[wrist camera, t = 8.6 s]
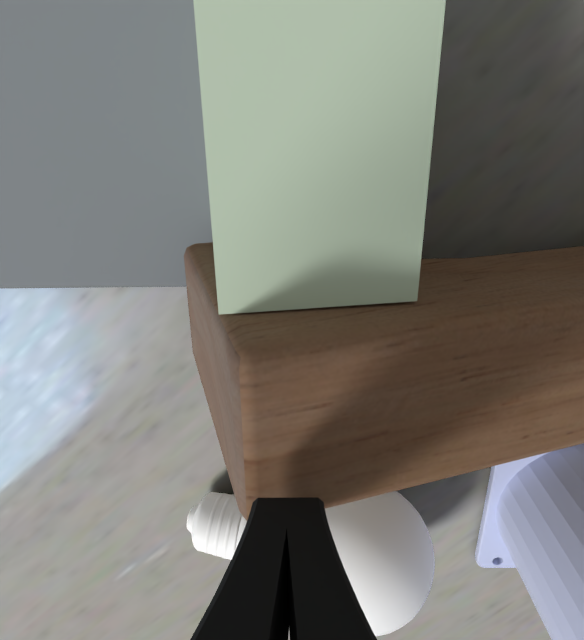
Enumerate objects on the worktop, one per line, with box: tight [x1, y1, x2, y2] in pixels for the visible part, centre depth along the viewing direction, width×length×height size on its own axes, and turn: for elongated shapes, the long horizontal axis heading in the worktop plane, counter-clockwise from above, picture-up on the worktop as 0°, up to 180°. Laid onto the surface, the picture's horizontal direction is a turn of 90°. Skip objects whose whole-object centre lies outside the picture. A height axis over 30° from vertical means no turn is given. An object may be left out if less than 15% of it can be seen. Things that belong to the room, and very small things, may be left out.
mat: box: [0, 0, 213, 288], centre depth 16 cm, size 14×12×1 cm
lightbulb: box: [187, 491, 435, 636], centre depth 21 cm, size 6×6×11 cm
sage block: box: [193, 0, 446, 315], centre depth 13 cm, size 4×8×8 cm, turn 1°
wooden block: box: [184, 242, 584, 521], centre depth 16 cm, size 9×4×18 cm
